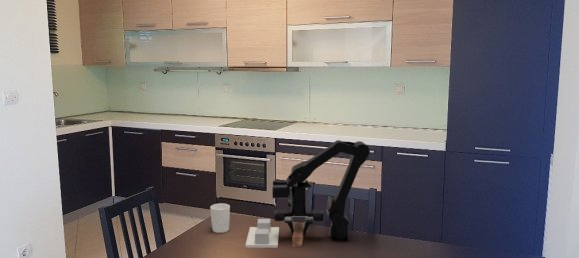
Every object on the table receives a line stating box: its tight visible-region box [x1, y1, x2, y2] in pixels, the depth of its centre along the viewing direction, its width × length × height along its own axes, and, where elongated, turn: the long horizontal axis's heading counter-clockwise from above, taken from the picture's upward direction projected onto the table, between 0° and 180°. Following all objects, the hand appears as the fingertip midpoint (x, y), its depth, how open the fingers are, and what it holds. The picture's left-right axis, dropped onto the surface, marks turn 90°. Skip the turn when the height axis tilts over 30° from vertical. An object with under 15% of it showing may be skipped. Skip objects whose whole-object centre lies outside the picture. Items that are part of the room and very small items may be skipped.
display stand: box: [245, 218, 280, 249], centre depth 183 cm, size 12×18×5 cm, turn 179°
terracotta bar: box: [292, 221, 305, 248], centre depth 182 cm, size 4×15×4 cm, turn 174°
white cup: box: [209, 203, 231, 234], centre depth 191 cm, size 8×8×10 cm
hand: (298, 236), depth 182 cm, fingers closed on terracotta bar, 4 cm apart
